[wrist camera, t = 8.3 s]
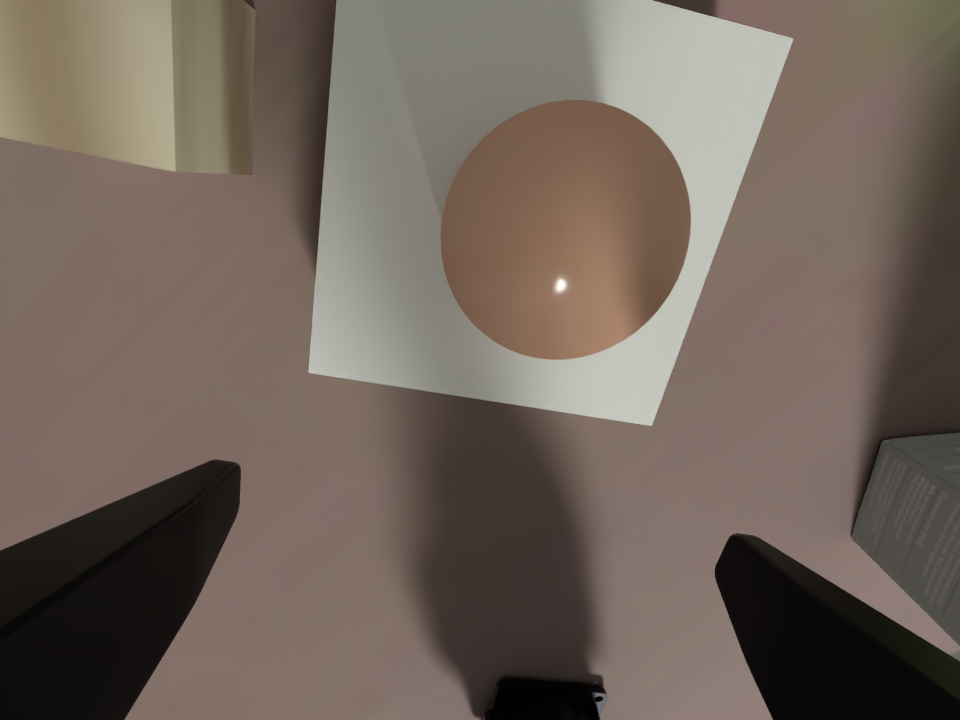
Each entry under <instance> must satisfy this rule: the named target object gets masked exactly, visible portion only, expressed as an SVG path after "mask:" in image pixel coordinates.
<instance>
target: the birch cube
mask: <svg viewBox="0 0 960 720" xmlns="http://www.w3.org/2000/svg"><path fill="white" fill-rule="evenodd" d="M255 31H256V11H255V10H254V9H253V8H252V7H251V6H250V5H248V4H247V3H246V2H245V1H244V0H0V137H3V138H8V139H13V140H18V141H23V142H28V143H33V144H38V145H43V146H48V147H53V148H58V149H63V150H68V151H73V152H78V153H83V154H88V155H93V156H98V157H103V158H108V159H113V160H118V161H123V162H128V163H133V164H138V165H143V166H148V167H153V168H158V169H163V170H168V171H173V172H189V173H217V174H245V175H252V145H253V107H254V69H255Z"/></svg>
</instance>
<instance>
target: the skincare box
mask: <svg viewBox="0 0 960 720" xmlns="http://www.w3.org/2000/svg"><path fill="white" fill-rule="evenodd" d="M851 537H852V540H853V541H854V542H855V543H857V544H858V545H859V546H860V547H861V548H862V549H863V550H864V551H865V552H866V553H867V554H868V555H869V556H870V557H871V558H872V559H873V560H874V561H875V562H876V563H877V564H878V565H879V566H880V567H881V568H882V569H883V570H884V571H885V572H886V573H887V574H888V575H889V576H890V577H891V578H892V579H893V580H894V581H895V582H896V583H897V584H898V585H899V586H900V587H901V588H902V589H903V590H904V591H905V592H906V593H907V594H908V595H909V596H910V597H911V598H912V599H913V600H914V601H915V602H916V603H917V604H918V605H919V606H920V607H921V608H922V609H923V610H924V611H925V612H926V613H927V614H928V615H929V616H930V617H931V618H932V619H933V620H934V621H935V622H936V623H937V624H938V625H939V626H940V627H941V628H942V629H943V630H944V631H945V632H946V633H947V634H948V635H949V636H950V637H951V638H952V639H953V640H954V641H955V642H956V643H957V644H958V645H959V646H960V433H950V434H937V435H925V436H914V437H905V438H893V439H890V440H883V442H882V444H881V447H880V450H879V453H878V456H877V459H876V462H875V466H874V469H873V472H872V475H871V478H870V481H869V484H868V487H867V490H866V493H865V495H864V498H863V501H862V504H861V507H860V510H859V513H858V516H857V519H856V522H855V526H854V529H853V533H852V536H851Z"/></svg>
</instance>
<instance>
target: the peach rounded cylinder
mask: <svg viewBox="0 0 960 720" xmlns="http://www.w3.org/2000/svg"><path fill="white" fill-rule="evenodd" d="M690 231H691V211H690V201H689V195H688V191H687V187H686V183H685V180H684V177H683V175H682V172H681V169H680V167H679V165H678V163H677V161H676V159H675V158H674V156H673V154H672V152H671V151H670V149H669V148H668V147H667V145H666V144H665V143H664V142H663V140H662V139H661V138H660V137H659V136H658V135H657V134H656V133H655V132H654V131H653V130H652V129H651V128H650V127H649V126H648V125H646V124H645V123H644V122H642V121H641V120H639V119H638V118H637V117H635V116H633V115H631V114H630V113H628V112H626V111H624V110H622V109H620V108H617V107H614V106H611V105H608V104H605V103H600V102H594V101H588V100H562V101H555V102H548V103H545V104H542V105H538V106H535V107H531V108H529V109H527V110H525V111H522V112H520V113H518V114H516V115H514V116H512V117H511V118H509V119H508V120H506V121H504V122H503V123H501V124H500V125H498V126H497V127H496V128H495V129H493V130H492V131H491V132H490V133H489V134H487V135H486V136H485V137H484V138H483V139H482V140H481V141H480V142H479V144H478V145H477V146H476V147H475V148H474V149H473V150H472V151H471V153H470V154H469V156H468V157H467V158H466V160H465V161H464V163H463V164H462V166H461V167H460V169H459V171H458V173H457V175H456V177H455V179H454V180H453V182H452V185H451V188H450V190H449V193H448V196H447V199H446V203H445V207H444V211H443V216H442V224H441V234H440V235H441V255H442V261H443V267H444V271H445V274H446V278H447V281H448V284H449V287H450V289H451V291H452V293H453V296H454V298H455V300H456V301H457V303H458V304H459V306H460V308H461V309H462V311H463V312H464V314H465V315H466V316H467V317H468V319H469V320H470V321H471V322H472V323H473V324H474V325H475V326H476V327H477V328H478V329H479V330H480V331H481V332H482V333H483V334H484V335H486V336H487V337H489V338H490V339H491V340H493V341H494V342H496V343H497V344H499V345H501V346H503V347H505V348H507V349H509V350H511V351H514V352H516V353H519V354H522V355H525V356H530V357H534V358H540V359H549V360H565V359H573V358H580V357H584V356H588V355H592V354H596V353H598V352H601V351H603V350H606V349H608V348H611V347H612V346H614V345H616V344H618V343H620V342H622V341H624V340H625V339H626V338H628V337H629V336H631V335H632V334H634V333H635V332H636V331H638V330H639V329H640V328H641V327H642V326H643V325H644V324H646V323H647V322H648V321H649V320H650V319H651V318H652V317H653V315H654V314H655V313H656V312H657V311H658V310H659V309H660V307H661V306H662V305H663V303H664V302H665V300H666V299H667V298H668V296H669V295H670V293H671V291H672V289H673V287H674V286H675V284H676V282H677V280H678V277H679V275H680V273H681V270H682V268H683V265H684V262H685V258H686V254H687V251H688V245H689V239H690Z"/></svg>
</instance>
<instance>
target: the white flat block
mask: <svg viewBox="0 0 960 720" xmlns="http://www.w3.org/2000/svg"><path fill="white" fill-rule="evenodd" d="M792 41H793V38H789V37H785V36H782V35H778V34H774V33H771V32H767V31H763V30H760V29H756V28H752V27H749V26H745V25H741V24H738V23H734V22H730V21H727V20H723V19H719V18H716V17H712V16H708V15H705V14H701V13H697V12H694V11H690V10H686V9H683V8H679V7H675V6H671V5H668V4H664V3H660V2H657V1H653V0H337V1H336V14H335V27H334V41H333V54H332V67H331V81H330V94H329V107H328V121H327V134H326V147H325V161H324V174H323V187H322V201H321V214H320V227H319V240H318V254H317V267H316V280H315V294H314V307H313V320H312V334H311V347H310V360H309V373H313V374H320V375H326V376H333V377H339V378H346V379H352V380H358V381H365V382H371V383H378V384H384V385H391V386H397V387H404V388H410V389H417V390H423V391H429V392H436V393H442V394H449V395H455V396H462V397H468V398H475V399H481V400H488V401H494V402H500V403H507V404H513V405H520V406H526V407H533V408H539V409H546V410H552V411H559V412H565V413H571V414H578V415H584V416H591V417H597V418H604V419H610V420H617V421H623V422H630V423H636V424H642V425H649V426H652V424H653V421H654V418H655V416H656V413H657V410H658V408H659V405H660V402H661V399H662V397H663V394H664V391H665V388H666V386H667V383H668V380H669V377H670V375H671V372H672V369H673V367H674V364H675V361H676V358H677V356H678V353H679V350H680V347H681V345H682V342H683V339H684V336H685V334H686V331H687V328H688V326H689V323H690V320H691V317H692V315H693V312H694V309H695V306H696V304H697V301H698V298H699V296H700V293H701V290H702V287H703V285H704V282H705V279H706V276H707V274H708V271H709V268H710V265H711V263H712V260H713V257H714V255H715V252H716V249H717V246H718V244H719V241H720V238H721V235H722V233H723V230H724V227H725V224H726V222H727V219H728V216H729V214H730V211H731V208H732V205H733V203H734V200H735V197H736V194H737V192H738V189H739V186H740V183H741V181H742V178H743V175H744V173H745V170H746V167H747V164H748V162H749V159H750V156H751V153H752V151H753V148H754V145H755V143H756V140H757V137H758V134H759V132H760V129H761V126H762V123H763V121H764V118H765V115H766V112H767V110H768V107H769V104H770V102H771V99H772V96H773V93H774V91H775V88H776V85H777V82H778V80H779V77H780V74H781V71H782V69H783V66H784V63H785V61H786V58H787V55H788V52H789V50H790V47H791V44H792ZM562 100H588V101H594V102H600V103H605V104H608V105H611V106H614V107H617V108H620V109H622V110H624V111H626V112H628V113H630V114H631V115H633V116H635V117H637V118H638V119H639V120H641V121H642V122H644V123H645V124H646V125H648V126H649V127H650V128H651V129H652V130H653V131H654V132H655V133H656V134H657V135H658V136H659V137H660V138H661V139H662V140H663V142H664V143H665V144H666V145H667V147H668V148H669V149H670V151H671V152H672V154H673V156H674V158H675V159H676V161H677V163H678V165H679V167H680V169H681V172H682V175H683V177H684V180H685V183H686V187H687V191H688V195H689V201H690V211H691V231H690V239H689V245H688V251H687V254H686V258H685V262H684V265H683V268H682V270H681V273H680V275H679V277H678V280H677V282H676V284H675V286H674V287H673V289H672V291H671V293H670V295H669V296H668V298H667V299H666V300H665V302H664V303H663V305H662V306H661V307H660V309H659V310H658V311H657V312H656V313H655V314H654V315H653V317H652V318H651V319H650V320H649V321H648V322H647V323H646V324H644V325H643V326H642V327H641V328H640V329H639V330H638V331H636V332H635V333H634V334H632V335H631V336H629V337H628V338H626V339H625V340H624V341H622V342H620V343H618V344H616V345H614V346H612V347H611V348H608V349H606V350H603V351H601V352H598V353H596V354H592V355H588V356H584V357H580V358H573V359H565V360H549V359H540V358H534V357H530V356H525V355H522V354H519V353H516V352H514V351H511V350H509V349H507V348H505V347H503V346H501V345H499V344H497V343H496V342H494V341H493V340H491V339H490V338H489V337H487V336H486V335H484V334H483V333H482V332H481V331H480V330H479V329H478V328H477V327H476V326H475V325H474V324H473V323H472V322H471V321H470V320H469V319H468V317H467V316H466V315H465V314H464V312H463V311H462V309H461V308H460V306H459V304H458V303H457V301H456V300H455V298H454V296H453V293H452V291H451V289H450V287H449V284H448V281H447V278H446V274H445V271H444V267H443V261H442V255H441V235H440V234H441V224H442V216H443V211H444V207H445V203H446V199H447V196H448V193H449V190H450V188H451V185H452V182H453V180H454V179H455V177H456V175H457V173H458V171H459V169H460V167H461V166H462V164H463V163H464V161H465V160H466V158H467V157H468V156H469V154H470V153H471V151H472V150H473V149H474V148H475V147H476V146H477V145H478V144H479V142H480V141H481V140H482V139H483V138H484V137H485V136H486V135H487V134H489V133H490V132H491V131H492V130H493V129H495V128H496V127H497V126H498V125H500V124H501V123H503V122H504V121H506V120H508V119H509V118H511V117H512V116H514V115H516V114H518V113H520V112H522V111H525V110H527V109H529V108H531V107H535V106H538V105H542V104H545V103H548V102H555V101H562Z"/></svg>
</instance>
